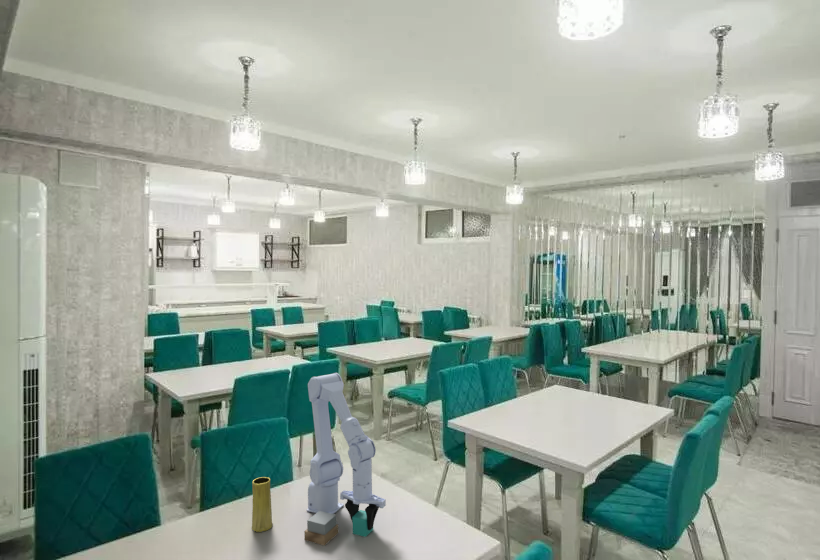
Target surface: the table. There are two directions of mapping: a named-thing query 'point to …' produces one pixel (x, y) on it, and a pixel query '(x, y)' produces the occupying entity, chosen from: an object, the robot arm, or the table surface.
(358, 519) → the teal block
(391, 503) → the table surface
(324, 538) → the walnut slab
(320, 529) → the slate slab
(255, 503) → the vase
